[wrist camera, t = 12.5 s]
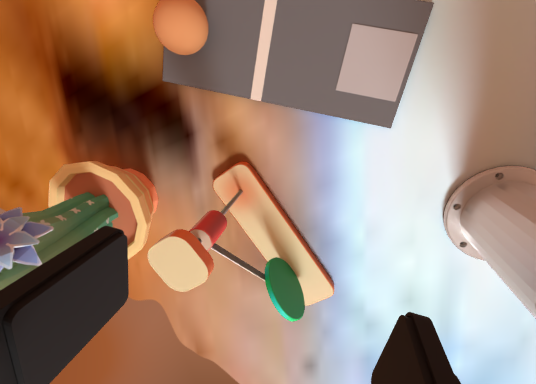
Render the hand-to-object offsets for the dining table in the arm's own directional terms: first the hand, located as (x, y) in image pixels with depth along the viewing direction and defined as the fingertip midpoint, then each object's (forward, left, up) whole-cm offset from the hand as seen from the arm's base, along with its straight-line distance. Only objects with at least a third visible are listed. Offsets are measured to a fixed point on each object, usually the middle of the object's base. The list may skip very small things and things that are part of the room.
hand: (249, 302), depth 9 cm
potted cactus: (+26, +15, -31) cm, 43 cm away
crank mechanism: (+2, +16, -31) cm, 34 cm away
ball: (+17, -10, -27) cm, 33 cm away
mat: (+6, -10, -30) cm, 32 cm away
